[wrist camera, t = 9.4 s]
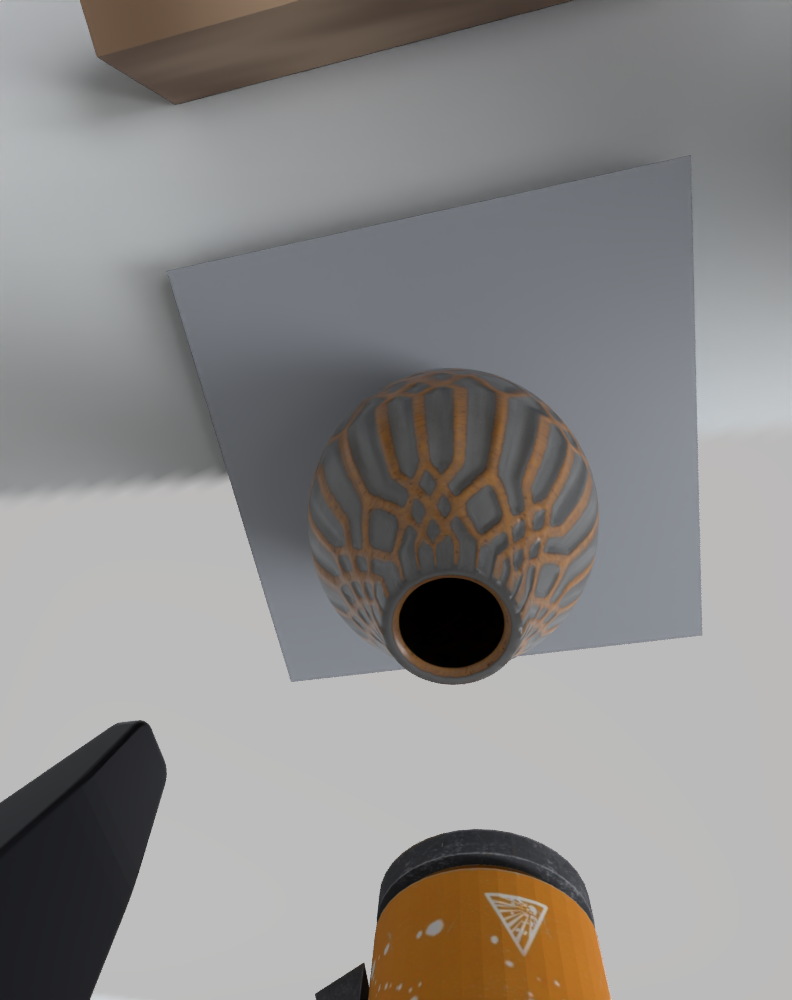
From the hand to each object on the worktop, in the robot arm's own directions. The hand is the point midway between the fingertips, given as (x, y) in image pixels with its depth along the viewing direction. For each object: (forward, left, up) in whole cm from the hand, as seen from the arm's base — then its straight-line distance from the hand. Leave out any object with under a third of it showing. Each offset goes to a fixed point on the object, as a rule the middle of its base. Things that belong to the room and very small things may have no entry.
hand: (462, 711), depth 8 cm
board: (0, 0, -12) cm, 12 cm away
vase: (0, 0, -11) cm, 11 cm away
